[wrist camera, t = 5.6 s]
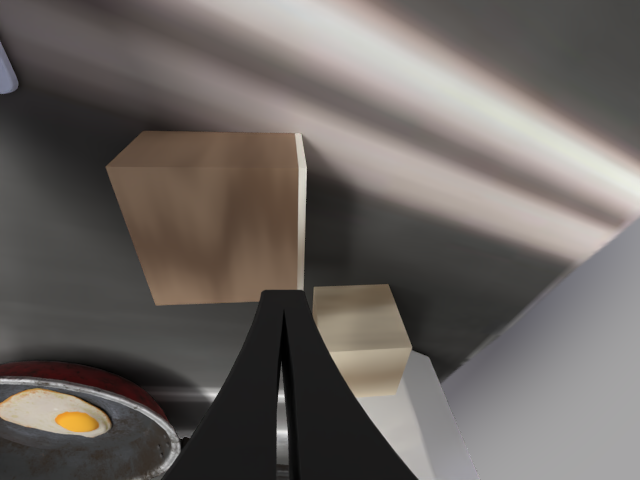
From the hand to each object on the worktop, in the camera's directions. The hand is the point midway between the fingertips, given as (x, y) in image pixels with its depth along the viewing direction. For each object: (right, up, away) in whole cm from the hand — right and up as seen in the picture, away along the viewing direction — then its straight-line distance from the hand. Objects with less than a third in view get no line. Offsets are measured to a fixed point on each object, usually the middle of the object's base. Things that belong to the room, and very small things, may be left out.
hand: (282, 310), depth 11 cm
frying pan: (-14, -14, +18) cm, 27 cm away
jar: (+6, -9, +17) cm, 20 cm away
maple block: (+3, -3, +12) cm, 13 cm away
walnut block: (0, +3, +5) cm, 6 cm away
